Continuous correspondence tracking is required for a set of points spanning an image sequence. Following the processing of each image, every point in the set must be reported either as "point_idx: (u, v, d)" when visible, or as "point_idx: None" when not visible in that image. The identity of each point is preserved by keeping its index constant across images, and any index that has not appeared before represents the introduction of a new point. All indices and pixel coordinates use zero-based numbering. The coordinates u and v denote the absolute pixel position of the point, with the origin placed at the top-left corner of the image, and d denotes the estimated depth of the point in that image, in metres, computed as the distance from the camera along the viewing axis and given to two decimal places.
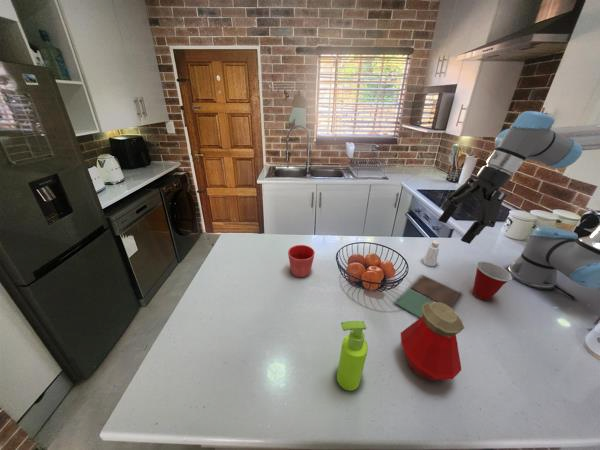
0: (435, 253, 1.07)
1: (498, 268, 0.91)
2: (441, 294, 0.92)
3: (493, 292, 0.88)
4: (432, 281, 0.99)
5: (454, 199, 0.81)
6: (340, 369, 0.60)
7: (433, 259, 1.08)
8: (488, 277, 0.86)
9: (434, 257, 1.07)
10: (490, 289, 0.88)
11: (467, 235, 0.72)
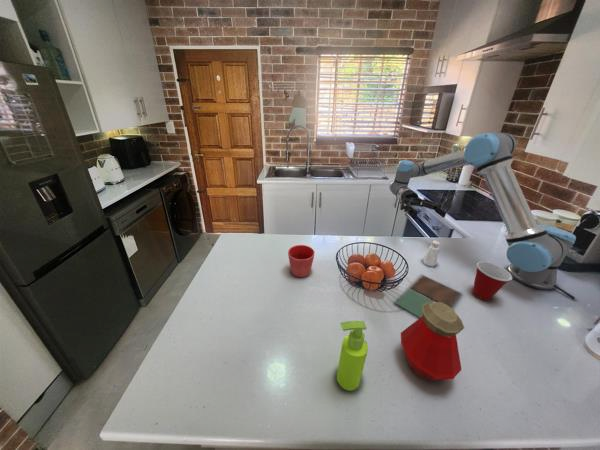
0: (435, 253, 1.07)
1: (498, 268, 0.91)
2: (441, 294, 0.92)
3: (493, 292, 0.88)
4: (432, 281, 0.99)
5: None
6: (340, 369, 0.60)
7: (433, 259, 1.08)
8: (488, 277, 0.86)
9: (434, 257, 1.07)
10: (490, 289, 0.88)
11: (412, 214, 1.11)
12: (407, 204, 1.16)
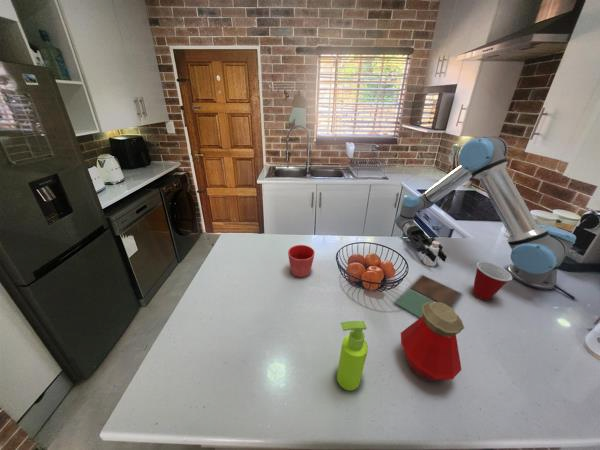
0: (435, 253, 1.07)
1: (498, 268, 0.91)
2: (441, 294, 0.92)
3: (493, 292, 0.88)
4: (432, 281, 0.99)
5: None
6: (340, 369, 0.60)
7: None
8: (488, 277, 0.86)
9: None
10: (490, 289, 0.88)
11: (430, 258, 1.06)
12: (423, 245, 1.11)
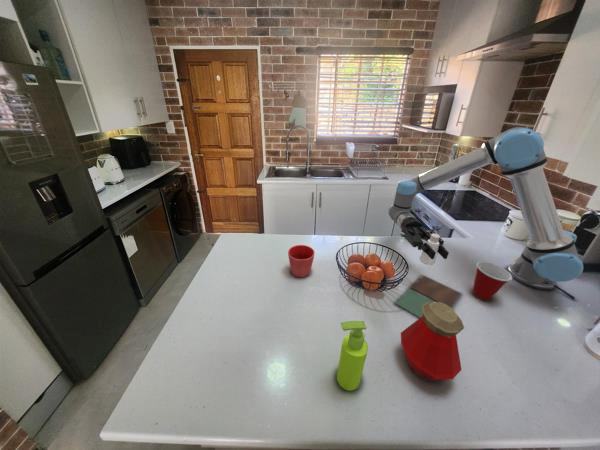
0: (434, 249, 0.87)
1: (498, 268, 0.91)
2: (441, 294, 0.92)
3: (493, 292, 0.88)
4: (432, 281, 0.99)
5: None
6: (340, 369, 0.60)
7: None
8: (488, 277, 0.86)
9: None
10: (490, 289, 0.88)
11: (428, 254, 0.86)
12: (419, 239, 0.91)
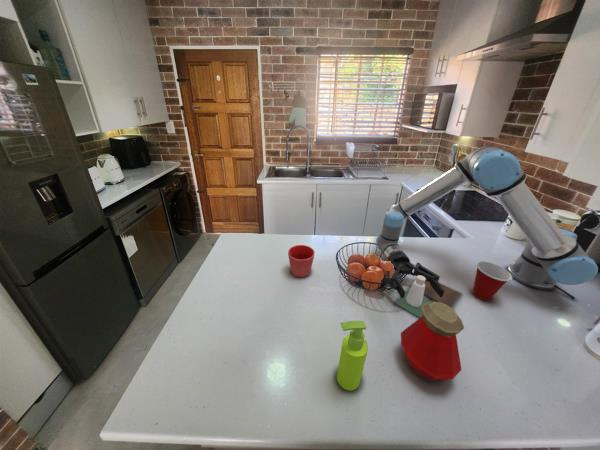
0: (420, 291, 0.84)
1: (498, 268, 0.91)
2: None
3: (493, 292, 0.88)
4: None
5: None
6: (340, 369, 0.60)
7: (418, 298, 0.85)
8: (488, 277, 0.86)
9: (419, 296, 0.85)
10: (490, 289, 0.88)
11: (399, 292, 0.85)
12: (393, 276, 0.89)
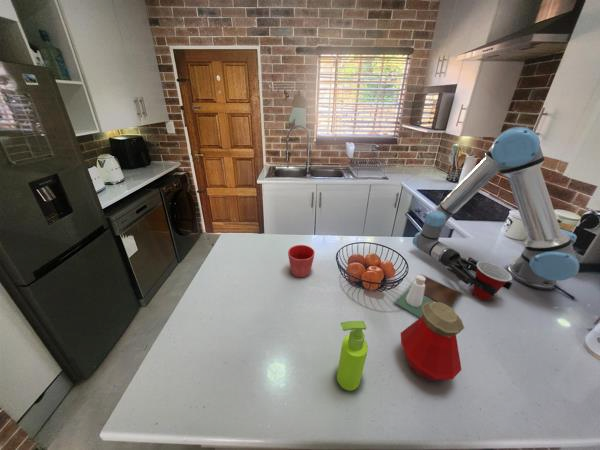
0: (420, 291, 0.84)
1: (498, 268, 0.91)
2: (441, 294, 0.92)
3: None
4: (432, 281, 0.99)
5: None
6: (340, 369, 0.60)
7: (418, 298, 0.85)
8: (488, 277, 0.86)
9: (419, 296, 0.85)
10: None
11: (486, 291, 0.87)
12: (471, 275, 0.91)
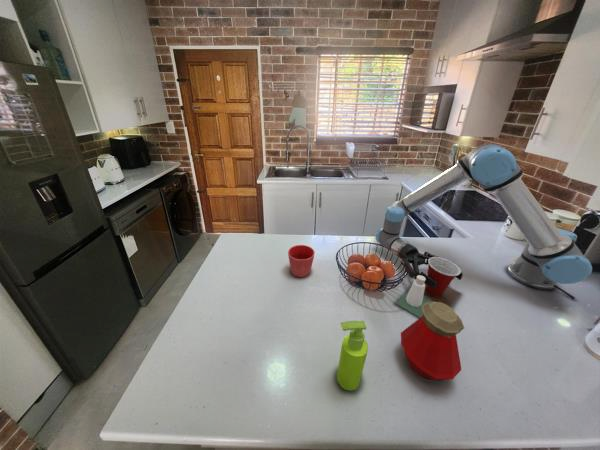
0: (420, 291, 0.84)
1: (450, 263, 0.92)
2: None
3: (443, 287, 0.89)
4: None
5: None
6: (340, 369, 0.60)
7: (418, 298, 0.85)
8: (437, 272, 0.87)
9: (419, 296, 0.85)
10: (440, 284, 0.89)
11: (428, 284, 0.88)
12: (416, 269, 0.92)
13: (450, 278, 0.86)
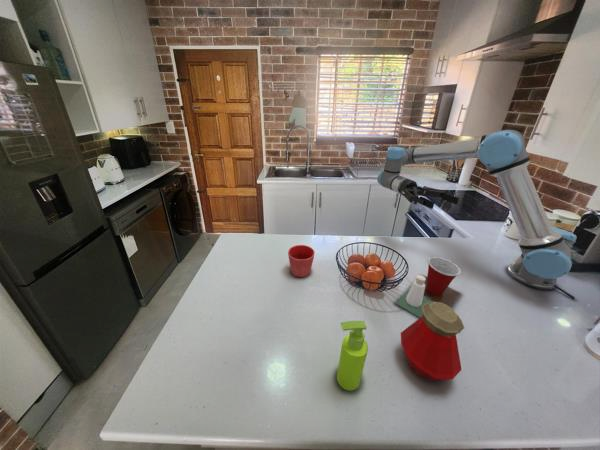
0: (420, 291, 0.84)
1: (450, 263, 0.92)
2: None
3: (443, 287, 0.89)
4: None
5: None
6: (340, 369, 0.60)
7: (418, 298, 0.85)
8: (437, 272, 0.87)
9: (419, 296, 0.85)
10: (440, 284, 0.89)
11: (427, 206, 0.95)
12: (416, 195, 0.99)
13: (450, 278, 0.86)
